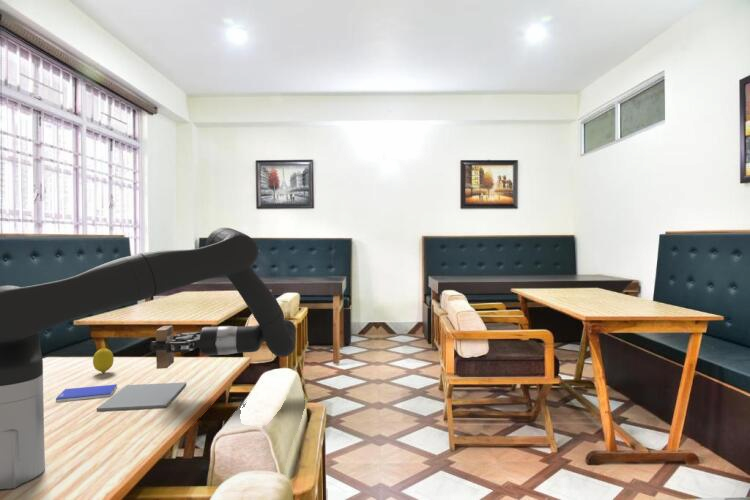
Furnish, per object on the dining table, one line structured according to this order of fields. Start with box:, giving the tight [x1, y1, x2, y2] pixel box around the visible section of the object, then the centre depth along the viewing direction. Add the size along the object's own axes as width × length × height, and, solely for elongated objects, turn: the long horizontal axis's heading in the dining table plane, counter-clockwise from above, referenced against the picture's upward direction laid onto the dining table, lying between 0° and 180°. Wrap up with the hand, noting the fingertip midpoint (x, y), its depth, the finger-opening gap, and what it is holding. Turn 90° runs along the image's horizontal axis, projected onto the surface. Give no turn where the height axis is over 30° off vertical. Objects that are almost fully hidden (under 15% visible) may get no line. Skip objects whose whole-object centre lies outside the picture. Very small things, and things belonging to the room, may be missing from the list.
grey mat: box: [96, 382, 187, 412], centre depth 120 cm, size 18×16×1 cm
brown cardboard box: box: [155, 325, 175, 370], centre depth 121 cm, size 6×3×10 cm, turn 7°
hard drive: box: [55, 383, 118, 403], centre depth 122 cm, size 2×8×12 cm
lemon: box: [92, 347, 114, 374], centre depth 142 cm, size 6×6×8 cm
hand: (155, 343), depth 120 cm, fingers closed on brown cardboard box, 6 cm apart
